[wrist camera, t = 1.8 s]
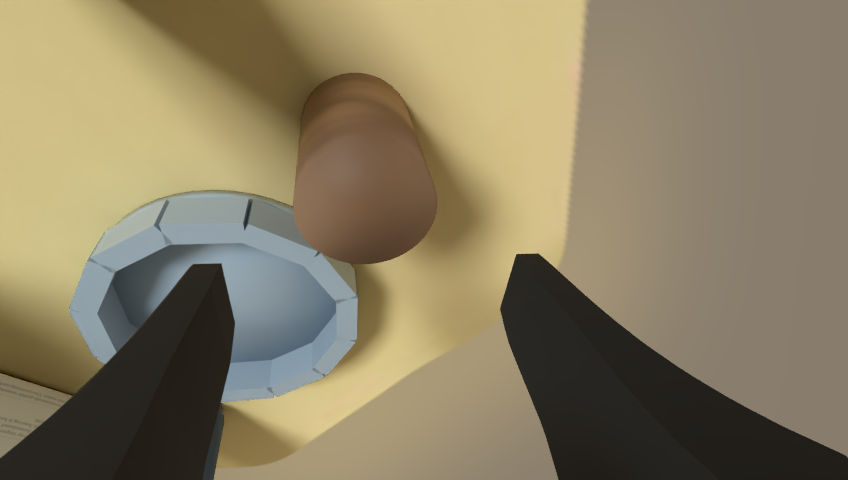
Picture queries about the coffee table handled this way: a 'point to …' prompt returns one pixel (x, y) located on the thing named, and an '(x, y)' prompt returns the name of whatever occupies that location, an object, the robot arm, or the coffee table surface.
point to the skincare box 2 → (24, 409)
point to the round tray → (246, 283)
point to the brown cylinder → (361, 173)
